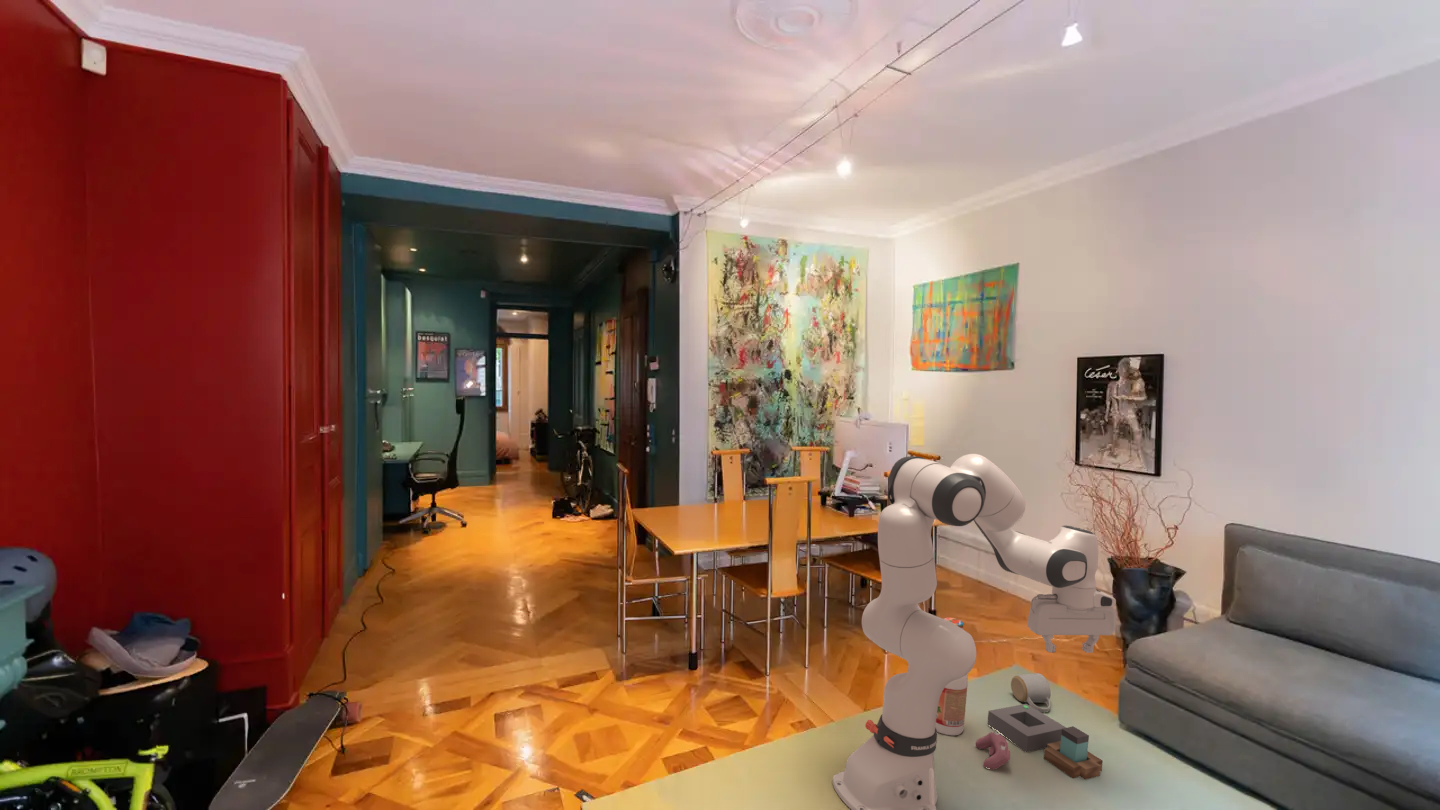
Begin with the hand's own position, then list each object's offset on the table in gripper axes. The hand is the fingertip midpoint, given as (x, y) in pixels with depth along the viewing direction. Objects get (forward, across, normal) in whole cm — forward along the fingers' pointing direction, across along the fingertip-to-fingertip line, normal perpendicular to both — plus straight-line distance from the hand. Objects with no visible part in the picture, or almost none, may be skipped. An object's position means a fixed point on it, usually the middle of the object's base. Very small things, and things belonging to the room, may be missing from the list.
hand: (1069, 651), depth 141 cm
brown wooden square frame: (+28, +3, 0) cm, 28 cm away
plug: (+28, +3, 0) cm, 28 cm away
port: (+28, -1, +12) cm, 30 cm away
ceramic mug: (+29, +12, +28) cm, 42 cm away
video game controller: (+27, -17, +1) cm, 32 cm away
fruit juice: (+27, -22, +15) cm, 38 cm away
